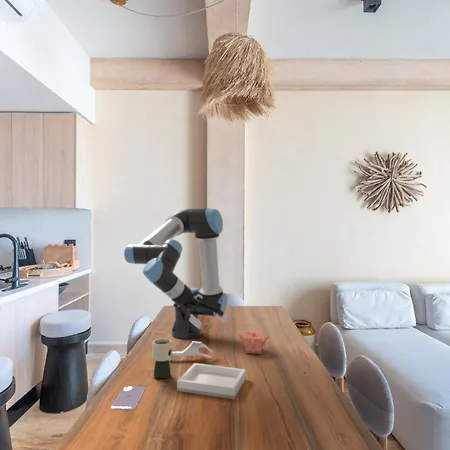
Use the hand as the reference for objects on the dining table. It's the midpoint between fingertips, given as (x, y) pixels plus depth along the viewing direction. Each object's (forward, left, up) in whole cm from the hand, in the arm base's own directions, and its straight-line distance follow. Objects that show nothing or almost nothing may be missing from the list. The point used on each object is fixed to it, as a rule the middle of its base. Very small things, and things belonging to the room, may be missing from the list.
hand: (212, 323), depth 143 cm
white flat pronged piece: (-4, -11, -18) cm, 21 cm away
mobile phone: (+32, -18, -18) cm, 41 cm away
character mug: (+14, -15, -17) cm, 27 cm away
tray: (+15, +5, -17) cm, 24 cm away
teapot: (-22, +12, -17) cm, 30 cm away
